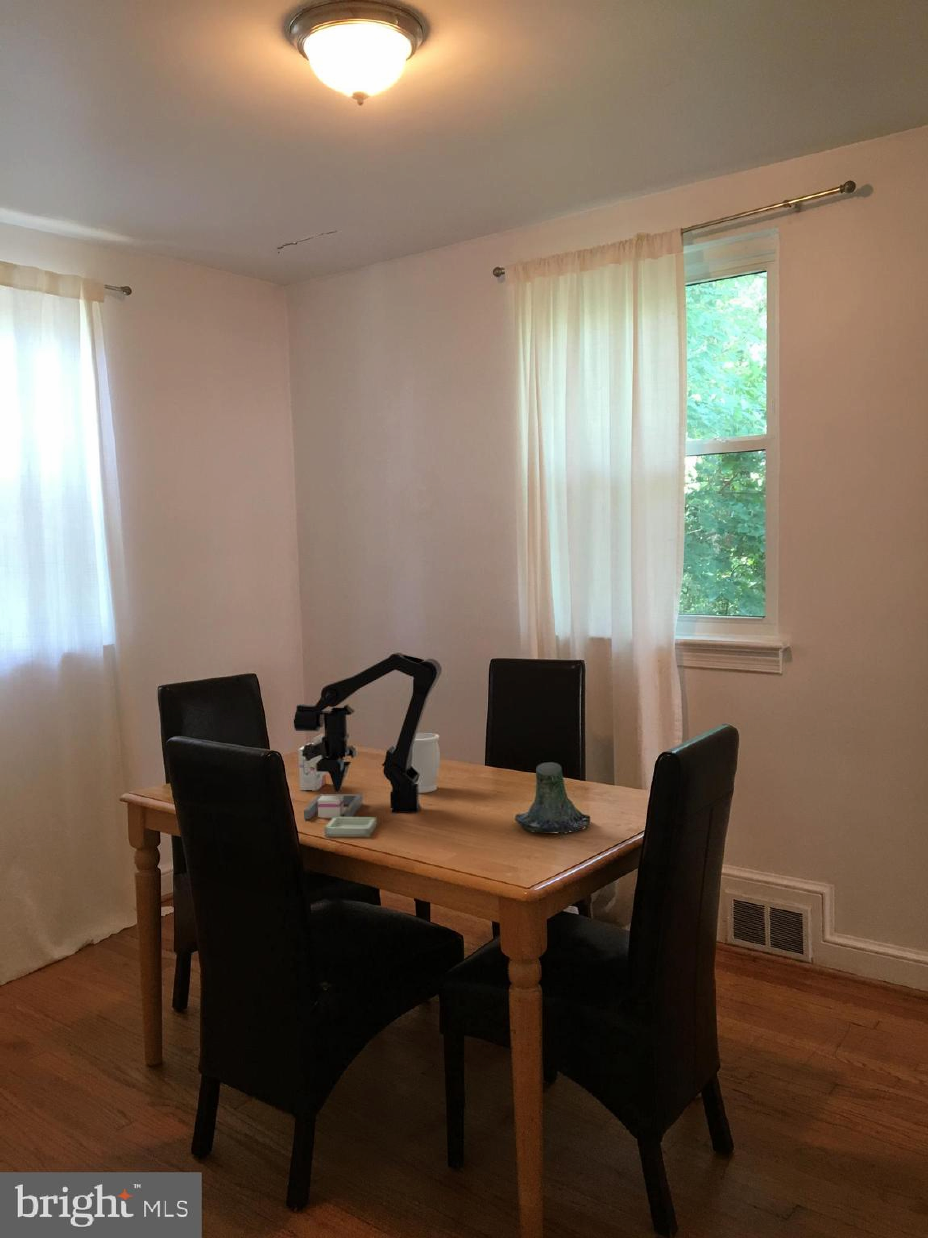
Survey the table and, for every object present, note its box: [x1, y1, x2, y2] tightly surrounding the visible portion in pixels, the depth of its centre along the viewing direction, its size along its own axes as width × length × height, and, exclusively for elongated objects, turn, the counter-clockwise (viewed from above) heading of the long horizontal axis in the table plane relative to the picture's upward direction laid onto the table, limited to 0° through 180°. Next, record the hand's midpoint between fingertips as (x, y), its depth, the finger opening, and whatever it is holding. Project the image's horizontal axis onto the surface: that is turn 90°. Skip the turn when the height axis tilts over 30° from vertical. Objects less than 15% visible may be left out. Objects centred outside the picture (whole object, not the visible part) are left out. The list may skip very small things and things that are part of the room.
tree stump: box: [514, 761, 591, 834], centre depth 231 cm, size 18×20×18 cm
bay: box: [303, 793, 363, 821], centre depth 247 cm, size 11×15×2 cm
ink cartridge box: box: [297, 733, 327, 792], centre depth 273 cm, size 9×5×15 cm, turn 168°
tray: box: [323, 816, 378, 838], centre depth 231 cm, size 10×10×2 cm
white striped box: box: [317, 796, 345, 819], centre depth 244 cm, size 6×4×4 cm
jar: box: [411, 732, 441, 794], centre depth 268 cm, size 11×10×15 cm
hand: (337, 791), depth 251 cm, fingers closed
